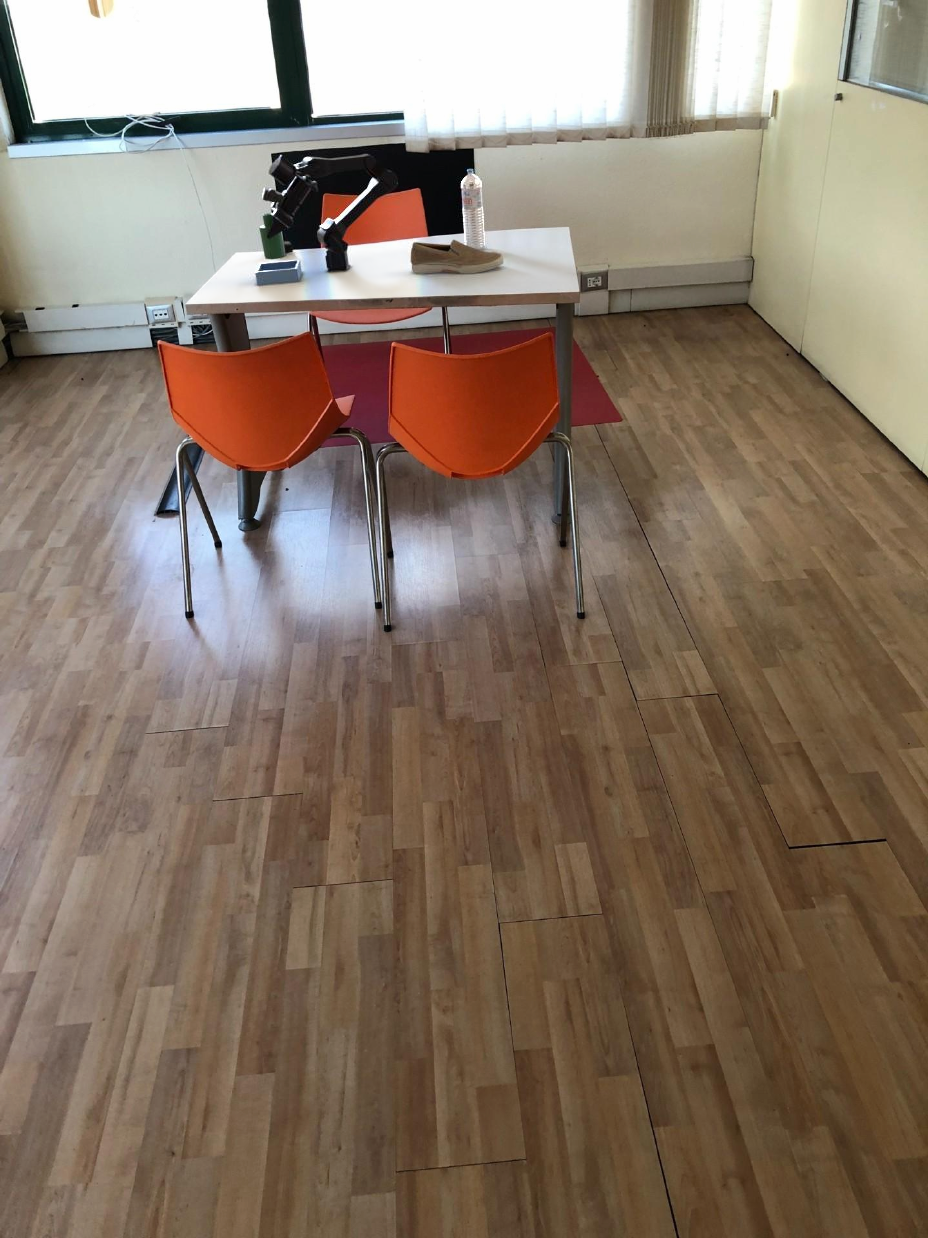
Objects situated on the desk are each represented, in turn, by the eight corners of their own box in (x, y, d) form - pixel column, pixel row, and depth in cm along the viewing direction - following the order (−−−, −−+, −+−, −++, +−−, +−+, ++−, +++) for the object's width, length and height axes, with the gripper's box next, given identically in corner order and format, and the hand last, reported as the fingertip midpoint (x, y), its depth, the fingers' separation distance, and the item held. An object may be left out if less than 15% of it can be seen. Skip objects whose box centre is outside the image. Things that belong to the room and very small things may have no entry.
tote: (301, 272, 318) (299, 259, 316) (299, 281, 308) (296, 268, 306) (261, 275, 318) (259, 263, 316) (257, 285, 308) (255, 272, 306)
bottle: (283, 253, 314) (275, 210, 306) (287, 256, 308) (279, 213, 301) (263, 256, 312) (255, 213, 305) (267, 260, 307) (259, 217, 299)
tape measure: (274, 256, 341) (273, 245, 339) (272, 253, 347) (270, 242, 344) (294, 254, 342) (292, 243, 340) (291, 250, 348) (289, 239, 346)
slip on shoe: (505, 263, 307) (504, 234, 303) (500, 272, 298) (498, 242, 293) (417, 266, 314) (414, 237, 309) (408, 275, 304) (405, 245, 300)
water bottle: (462, 248, 330) (456, 169, 316) (479, 245, 332) (475, 166, 319) (470, 252, 325) (465, 171, 311) (488, 248, 327) (484, 168, 313)
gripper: (272, 172, 305) (245, 213, 310) (275, 181, 290) (246, 224, 295) (301, 196, 311) (274, 236, 315) (305, 205, 295) (276, 247, 300)
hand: (267, 235), depth 306 cm, fingers closed on bottle, 7 cm apart
